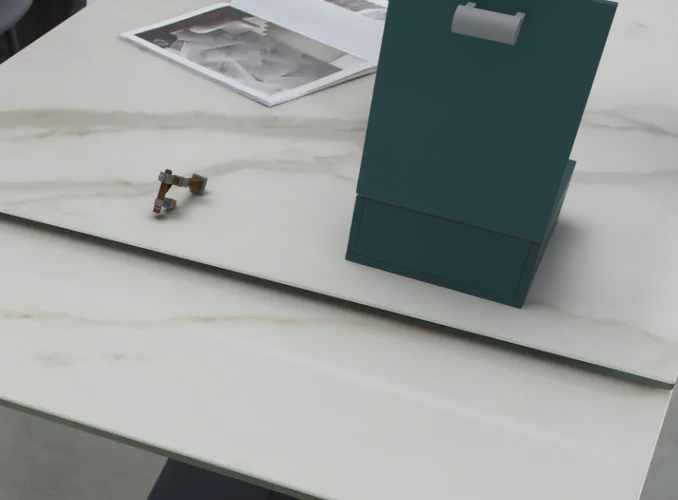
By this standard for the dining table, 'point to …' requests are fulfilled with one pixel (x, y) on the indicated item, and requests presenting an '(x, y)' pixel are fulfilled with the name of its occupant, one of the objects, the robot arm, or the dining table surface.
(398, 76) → the lid
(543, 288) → the dining table surface
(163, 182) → the brown grey bent piece
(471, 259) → the teal box base
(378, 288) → the dining table surface
